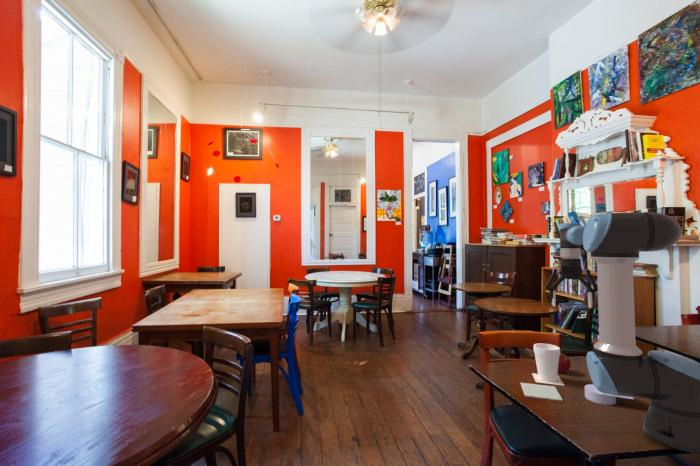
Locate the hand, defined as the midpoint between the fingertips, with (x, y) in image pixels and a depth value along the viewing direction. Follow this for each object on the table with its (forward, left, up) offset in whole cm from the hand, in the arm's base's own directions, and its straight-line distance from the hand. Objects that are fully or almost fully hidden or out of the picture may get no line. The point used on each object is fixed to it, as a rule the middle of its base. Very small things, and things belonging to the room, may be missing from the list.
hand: (571, 306), depth 148 cm
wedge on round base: (-27, -3, -28) cm, 39 cm away
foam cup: (-13, +13, -28) cm, 33 cm away
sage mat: (-27, +18, -28) cm, 43 cm away
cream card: (-13, +13, -28) cm, 33 cm away
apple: (-2, +6, -28) cm, 29 cm away
